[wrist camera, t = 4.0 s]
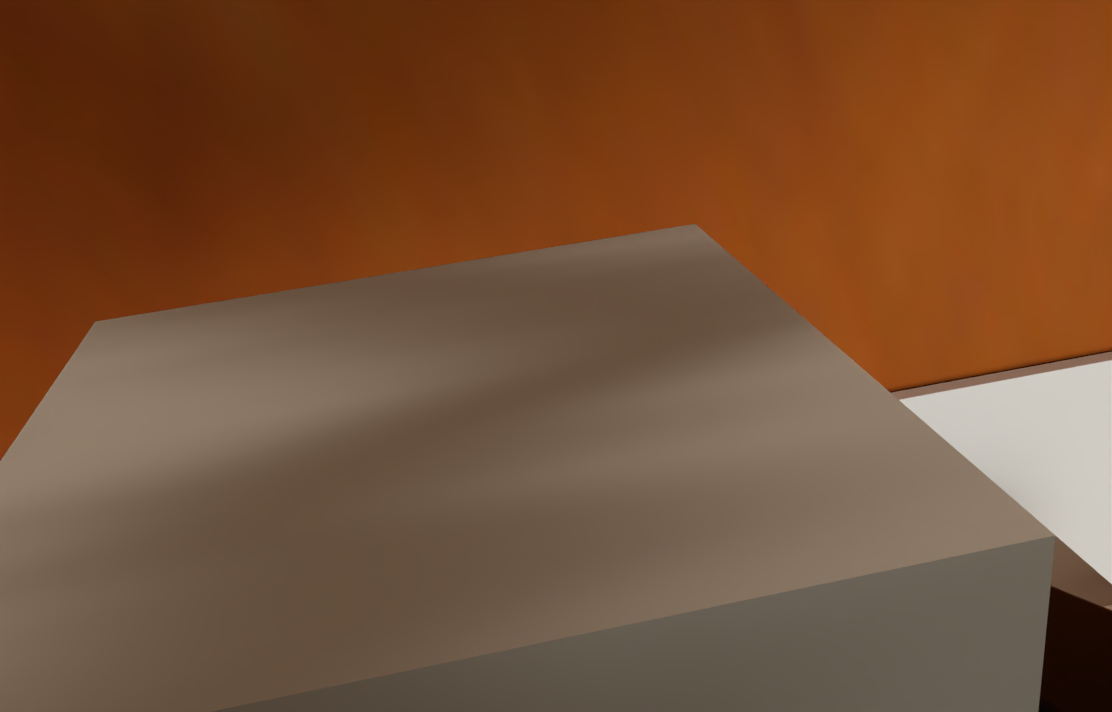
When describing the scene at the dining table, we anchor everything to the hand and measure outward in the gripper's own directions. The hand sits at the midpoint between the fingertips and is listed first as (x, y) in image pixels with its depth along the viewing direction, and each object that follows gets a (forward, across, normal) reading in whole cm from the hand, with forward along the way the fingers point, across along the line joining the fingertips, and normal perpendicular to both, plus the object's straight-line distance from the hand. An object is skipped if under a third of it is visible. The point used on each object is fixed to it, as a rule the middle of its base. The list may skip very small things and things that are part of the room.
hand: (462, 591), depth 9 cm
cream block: (+1, 0, 0) cm, 1 cm away
